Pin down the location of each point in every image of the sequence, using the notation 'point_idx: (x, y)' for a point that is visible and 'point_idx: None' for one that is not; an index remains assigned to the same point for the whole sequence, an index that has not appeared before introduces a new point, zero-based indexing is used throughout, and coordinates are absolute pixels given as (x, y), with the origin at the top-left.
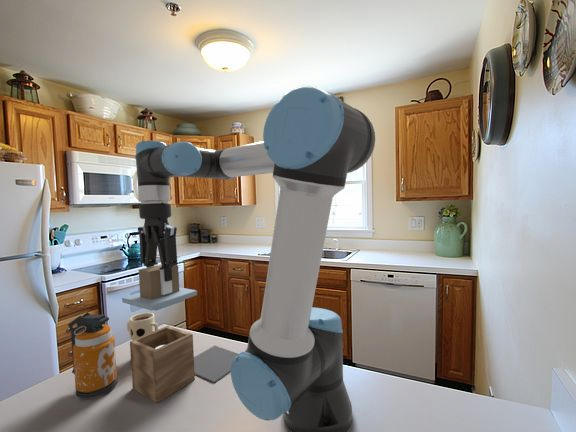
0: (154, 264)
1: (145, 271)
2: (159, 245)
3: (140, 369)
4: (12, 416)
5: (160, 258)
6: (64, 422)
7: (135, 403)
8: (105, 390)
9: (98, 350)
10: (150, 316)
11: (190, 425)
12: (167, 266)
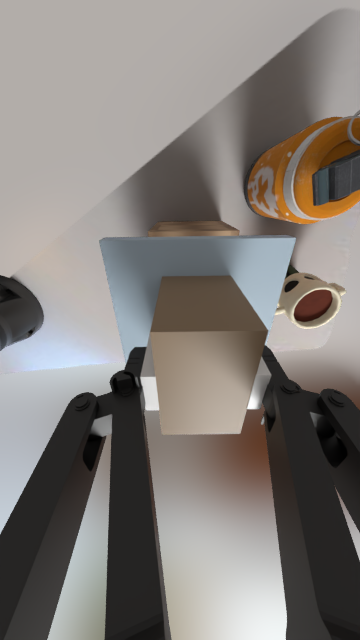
0: (265, 408)
1: (195, 329)
2: (119, 579)
3: (199, 225)
4: (356, 30)
5: (139, 435)
6: (241, 100)
7: (184, 202)
8: (245, 184)
9: (277, 166)
10: (307, 322)
11: (85, 219)
12: (85, 395)
